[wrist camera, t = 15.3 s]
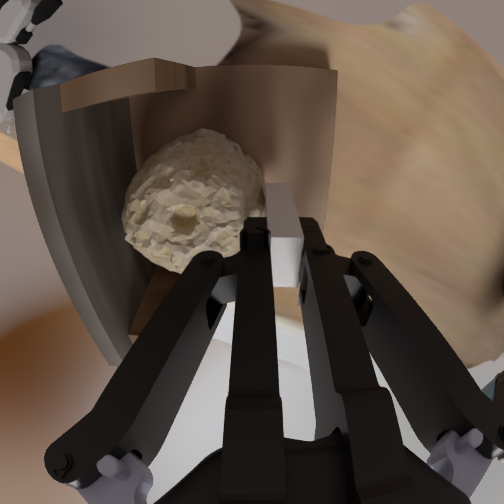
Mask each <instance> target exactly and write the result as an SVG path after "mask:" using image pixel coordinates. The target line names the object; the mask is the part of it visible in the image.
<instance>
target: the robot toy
mask: <svg viewBox="0 0 504 504" xmlns="http://www.w3.org/2000/svg"><path fill="white" fill-rule="evenodd" d="M62 4H63V3H62V1H61V0H0V123H2V122H6V121H8V120H10V119H12V120H11V123H10V125H9V127H8V129H7V133H8V134H9V133H10V132H11V130H12V128H13V123H14V121H15V118H14V109H13V99H15V98H16V97H18V96H20V95H22V94H24V93H26V92H28V91H29V90H28V87H29V84H30V81H31V79H32V72H33V68H32V60H31V57H30V54H29V53H28V51H27V50H26V49H24V48H23V47H22V46H20V45H18V44H27V42H28V41H29V40H30V38H31V36H32V35H33V34H32V32H33V30H34V28H35V27H36V25H38V24H40V23H41V22H43V21H45V20H47V19H49V18H50V17H51V16H52V15H53V13H55V11H56V10H57V9H58V8H59V7H60V6H61V5H62Z"/></svg>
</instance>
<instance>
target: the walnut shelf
mask: <svg viewBox="0 0 504 504" xmlns="http://www.w3.org/2000/svg"><path fill="white" fill-rule="evenodd" d="M337 77H338V70H330V69H322V68H313V67H302V66H287V65H220V66H206V67H192V66H188V65H184V64H180V63H176V62H171V61H167V60H162V59H158V58H150V59H145V60H141V61H136V62H131V63H127V64H123V65H119V66H115V67H111V68H107V69H104V70H100V71H97V72H94V73H91V74H87V75H84V76H81V77H78V78H76V79H73V80H70V81H67V82H64V83H62V84H59V85H52V86H47V87H41V88H36V89H32V90H30V91H28V92H26V93H24V94H22V95H20V96H18V97H16V98H15V99H13V109H14V118H15V126H16V133H17V139H18V145H19V150H20V155H21V160H22V165H23V169H24V174H25V178H26V182H27V186H28V189H29V193H30V196H31V200H32V203H33V207H34V210H35V213H36V216H37V219H38V222H39V225H40V228H41V231H42V234H43V236H44V239H45V242H46V244H47V247H48V249H49V252H50V254H51V257H52V259H53V262H54V264H55V266H56V269H57V271H58V273H59V275H60V278H61V280H62V282H63V284H64V286H65V288H66V290H67V292H68V294H69V296H70V298H71V300H72V302H73V304H74V306H75V308H76V310H77V312H78V314H79V316H80V317H81V319H82V321H83V323H84V325H85V326H86V328H87V330H88V332H89V333H90V335H91V337H92V338H93V340H94V342H95V343H96V345H97V347H98V348H99V350H100V351H101V353H102V354H103V356H104V358H105V359H106V361H107V362H108V364H109V365H112V366H117V367H119V365H120V364H121V362H122V360H123V359H124V357H125V356H126V354H127V353H128V351H129V350H130V348H131V347H132V345H133V344H134V342H135V340H136V339H137V337H138V336H139V334H140V333H141V331H142V330H143V328H144V327H145V325H146V324H147V322H148V321H149V319H150V318H151V317H152V315H153V314H154V312H155V311H156V309H157V308H158V306H159V305H160V303H161V302H162V300H163V299H164V298H165V296H166V295H167V293H168V292H169V290H170V289H171V288H172V286H173V285H174V283H175V282H176V280H177V279H178V278H179V276H180V275H181V274H180V273H177V272H175V271H169V270H168V269H166V268H164V267H162V266H160V265H158V264H155V263H153V262H151V261H150V260H149V259H148V258H146V257H144V255H143V254H142V253H141V252H139V251H138V250H136V249H134V247H133V245H132V244H130V243H129V242H127V241H126V240H125V235H126V234H125V233H124V228H123V222H122V212H123V208H124V205H125V194H126V192H127V188H128V187H129V185H130V184H131V181H132V179H133V177H134V176H135V175H136V174H137V173H138V171H139V169H140V167H141V166H142V164H143V163H144V162H145V161H146V159H147V158H148V157H150V156H151V155H153V154H154V153H156V152H157V151H159V149H160V148H161V147H162V146H164V145H165V144H167V143H169V142H170V141H174V140H175V138H177V137H179V136H184V135H186V134H191V133H193V132H194V131H197V130H199V129H200V128H204V129H209V130H213V131H216V132H218V133H220V134H225V136H226V138H228V139H230V140H231V141H232V142H236V143H237V144H239V146H240V148H241V150H242V152H243V154H244V155H245V156H246V155H249V156H250V157H251V158H252V159H253V161H255V162H256V164H257V165H258V167H259V168H260V169H261V172H262V175H263V178H264V180H265V183H289V186H290V190H291V193H292V196H293V200H294V203H295V207H296V210H297V214H298V217H313V218H314V219H315V220H316V221H317V222H318V224H319V226H320V229H321V232H322V234H323V229H324V222H325V215H326V207H327V199H328V191H329V183H330V174H331V164H332V154H333V142H334V130H335V116H336V99H337ZM263 217H264V212H263Z"/></svg>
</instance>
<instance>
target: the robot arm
mask: <svg viewBox="0 0 504 504" xmlns="http://www.w3.org/2000/svg"><path fill="white" fill-rule="evenodd" d="M299 282H300V290H299V297H298V304H297V306H300V304H301V310H302V317H303V324H304V330H305V337H306V344H307V352H308V359H309V367H310V375H311V382H312V390H313V398H314V408H315V417H316V430H315V440H314V441H302V440H295V439H290V438H285V437H284V433H283V411H282V400H281V397H280V394H279V378H278V358H277V340H276V323H275V307H274V292H273V287H298V283H299ZM369 295H370V297H371V298H372V300H371V299H370V298H369ZM503 296H504V283H503ZM233 301H236V302H235V314H234V327H233V339H232V353H231V366H230V379H229V392H228V393H229V394H228V396H227V398H226V405H225V418H224V432H223V447H222V448H220V449H218V450H216V451H214V452H213V453H211V454H210V455H208V456H207V457H205V458H204V459H203V460H202V461H201V462H200V463H199V464H198V465H197V466H196V467H195V468H194V469H193V470H192V471H191V472H190V473H188V474H187V475H186V476H185V477H184V478H183V479H182V480H181V481H180V482H179V483H177V484H176V485H175V486H174V487H173V488H172V489H170V490H169V491H168V492H167V493H166V494H165V495H163V496H162V497H161V498H160V499H159V500H158V501H156V502H155V503H154V504H471V502H470V499H469V498H470V496H471V495H472V493H473V492H474V490H475V489H476V487H477V486H478V484H479V482H480V481H481V479H482V478H483V476H484V474H485V472H486V471H487V469H488V467H489V465H490V464H491V461H492V460H493V459H494V458H495V457H498V461H499V462H502V463H504V371H503V372H501V373H498V374H497V375H496V376H495V378H494V379H493V380H492V381H491V382H490V383H489V384H487V385H486V386H485V387H484V388H483V389H482V390H480V388H479V387H478V385H477V384H476V382H475V381H474V379H473V377H472V376H471V374H470V373H469V371H468V370H467V369H466V367H465V366H464V364H463V363H462V361H461V360H460V358H459V357H458V356H457V354H456V353H455V352H454V350H453V349H452V347H451V346H450V345H449V343H448V342H447V341H446V339H445V338H444V337H443V335H442V334H441V333H440V331H439V330H438V329H437V327H436V326H435V325H434V324H433V322H432V321H431V320H430V319H429V317H428V316H427V315H426V313H425V312H424V311H423V310H422V309H421V307H420V306H419V305H418V304H417V302H416V301H415V300H414V299H413V298H412V296H411V295H410V294H409V293H408V292H407V291H406V289H405V288H404V287H403V286H402V285H401V284H400V282H399V281H398V280H397V279H396V278H395V277H394V276H393V274H392V273H391V272H390V271H389V270H388V269H387V268H386V267H385V265H384V264H383V263H382V262H381V261H380V260H379V259H378V258H377V257H376V256H375V255H374V254H371V253H369V252H366V251H357V252H354V253H353V254H352V256H351V258H346V257H342V256H338V255H336V254H335V252H334V250H333V248H332V247H331V246H329V245H328V244H326V242H325V239H324V237H323V234H322V232H321V229H320V226H319V224H318V222H317V221H316V220H315V219H314V218H313V217H298V214H297V210H296V207H295V203H294V200H293V196H292V193H291V190H290V186H289V183H265V207H264V217H247V218H246V220H245V221H244V224H243V229H242V230H241V231H240V251H239V252H238V253H236V254H234V255H232V256H228V257H224V258H223V256H222V254H221V253H219V252H217V251H213V250H207V251H202V252H199V253H197V254H196V255H195V256H194V257H193V258H192V260H191V261H190V262H189V264H188V265H187V266H186V268H185V269H184V271H183V272H182V273H181V275H180V276H179V278H178V279H177V280H176V282H175V283H174V285H173V286H172V288H171V289H170V290H169V292H168V293H167V295H166V296H165V298H164V299H163V300H162V302H161V303H160V305H159V306H158V308H157V309H156V311H155V312H154V314H153V315H152V317H151V318H150V319H149V321H148V322H147V324H146V325H145V327H144V328H143V330H142V331H141V333H140V334H139V336H138V337H137V339H136V340H135V342H134V344H133V345H132V347H131V348H130V350H129V351H128V353H127V354H126V356H125V357H124V359H123V360H122V362H121V364H120V365H119V367H118V369H117V370H116V372H115V373H114V375H113V376H112V378H111V379H110V381H109V383H108V384H107V386H106V388H105V389H104V391H103V392H102V394H101V396H100V398H99V399H98V401H97V402H96V404H95V406H94V408H93V409H92V411H91V412H89V413H88V414H87V415H86V416H85V417H83V418H82V419H81V420H80V421H79V422H77V423H76V424H75V425H74V426H73V427H72V428H70V429H69V430H68V431H67V432H65V433H64V434H63V435H62V436H61V437H59V438H58V439H57V440H56V441H54V442H53V443H52V444H51V445H50V446H49V447H48V449H47V450H46V452H45V456H44V462H45V467H46V469H47V471H48V473H49V474H50V475H51V477H52V478H53V479H55V480H56V481H58V482H61V483H63V484H65V485H68V486H70V487H73V488H75V489H77V491H78V492H79V493H80V494H81V495H82V497H83V498H84V499H85V500H86V501H87V503H88V504H147V502H146V498H147V494H148V492H149V490H150V489H151V487H152V485H153V476H152V473H151V471H150V469H149V468H148V466H149V465H150V464H151V462H152V461H153V460H154V458H155V457H156V456H157V454H158V452H159V451H160V449H161V447H162V445H163V443H164V441H165V439H166V437H167V434H168V432H169V430H170V428H171V426H172V424H173V422H174V419H175V417H176V415H177V413H178V411H179V408H180V406H181V404H182V402H183V400H184V397H185V395H186V393H187V391H188V389H189V387H190V385H191V383H192V380H193V378H194V376H195V374H196V372H197V370H198V367H199V365H200V363H201V361H202V359H203V356H204V354H205V352H206V350H207V347H208V346H209V344H210V341H211V339H212V337H213V335H214V333H215V330H216V328H217V326H218V324H219V322H220V320H221V317H222V315H223V313H224V311H225V309H226V306H227V303H229V302H233ZM369 352H370V353H369ZM370 354H371V356H372V357H373V359H374V361H375V362H376V364H377V366H378V367H379V369H380V371H381V373H382V374H383V376H384V378H385V380H386V381H387V383H388V385H389V387H390V388H391V390H392V392H393V394H394V396H395V397H396V399H397V401H398V403H399V405H400V406H401V408H402V410H403V412H404V414H405V415H406V418H407V419H408V421H409V423H410V425H411V427H412V429H413V431H414V432H415V434H416V436H417V437H418V439H419V440H420V442H421V443H422V444H423V446H424V447H425V448H426V449H427V450H428V451H429V452H430V453H431V454H430V457H429V458H428V459H427V464H426V463H425V462H424V461H422V460H421V459H420V458H419V457H418V456H416V455H415V454H414V453H413V452H411V451H410V450H409V449H408V448H407V447H405V446H404V445H403V441H402V437H401V433H400V428H399V424H398V420H397V416H396V412H395V408H394V404H393V400H392V397H391V394H390V392H389V390H388V389H387V388H385V387H380V386H379V384H378V381H377V378H376V374H375V371H374V367H373V364H372V360H371V357H370Z"/></svg>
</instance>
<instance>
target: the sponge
mask: <svg viewBox="0 0 504 504" xmlns="http://www.w3.org/2000/svg"><path fill="white" fill-rule="evenodd" d="M264 207H265V180H264V178H263V175H262V172H261V169H260V168H259V167H258V165H257V164H256V162H255V161H253V159H252V158H251V157H250V156H249V155H246V156H245V155H244V154H243V152H242V150H241V148H240V146H239V144H237V143H236V142H232V141H231V140H230V139H228V138H226V136H225V134H220V133H218V132H216V131H213V130H209V129H204V128H200V129H199V130H197V131H194V132H193V133H191V134H186V135H184V136H179V137H177V138H175V140H174V141H170V142H169V143H167V144H165V145H164V146H162V147H161V148H160V149H159V151H157V152H156V153H154V154H153V155H151V156H150V157H148V158H147V159H146V161H145V162H144V163H143V164H142V166H141V167H140V169H139V171H138V173H137V174H136V175H135V176H134V177H133V179H132V181H131V184H130V185H129V187H128V188H127V192H126V194H125V205H124V208H123V212H122V222H123V228H124V233H125V234H126V235H125V240H126V241H127V242H129V243H130V244H132V245H133V247H134V249H136V250H138V251H139V252H141V253H142V254H143V255H144V257H146V258H148V259H149V260H150V261H151V262H153V263H155V264H158V265H160V266H162V267H164V268H166V269H168V270H169V271H175V272H177V273H180V274H181V273H182V272H183V271H184V269H185V268H186V266H187V265H188V264H189V262H190V261H191V260H192V258H193V257H194V256H195V255H196V254H197V253H199V252H202V251H207V250H213V251H217V252H219V253H221V254H222V256H223V258H224V257H228V256H232V255H234V254H236V253H238V252H239V251H240V231H241V230H242V229H243V224H244V221H245V220H246V218H247V217H263V212H264Z"/></svg>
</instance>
